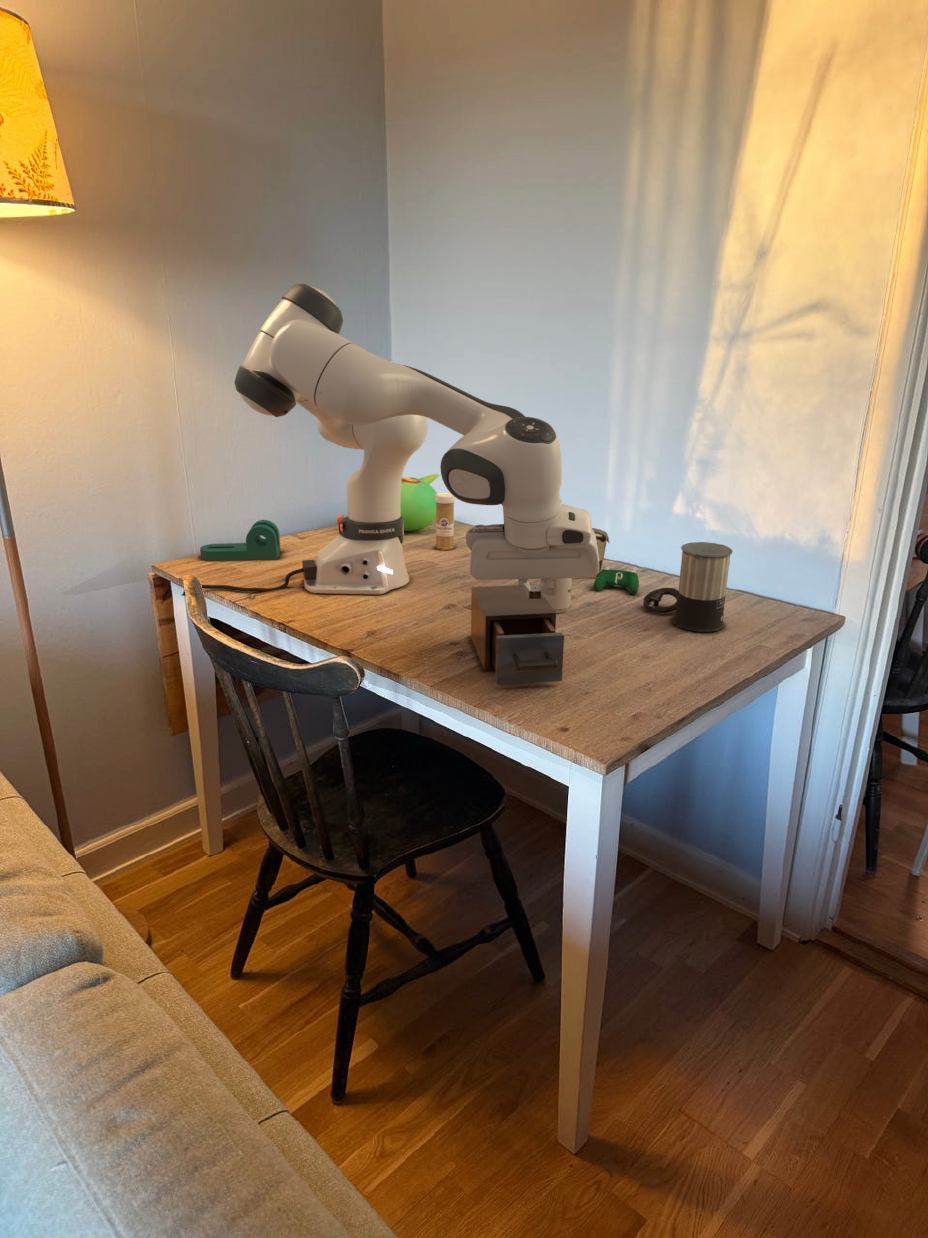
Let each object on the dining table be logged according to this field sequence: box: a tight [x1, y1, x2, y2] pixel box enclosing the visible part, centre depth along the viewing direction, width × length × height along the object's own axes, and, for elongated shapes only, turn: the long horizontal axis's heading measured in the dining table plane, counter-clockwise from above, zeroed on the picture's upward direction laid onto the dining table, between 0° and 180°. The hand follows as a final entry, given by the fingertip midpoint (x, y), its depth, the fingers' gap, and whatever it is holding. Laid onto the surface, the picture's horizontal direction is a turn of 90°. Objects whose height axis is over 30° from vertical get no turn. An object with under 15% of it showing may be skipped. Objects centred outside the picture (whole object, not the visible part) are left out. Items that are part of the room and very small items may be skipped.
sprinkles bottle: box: [435, 492, 455, 551], centre depth 201 cm, size 5×5×14 cm
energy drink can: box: [540, 578, 573, 614], centre depth 160 cm, size 6×6×15 cm
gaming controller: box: [593, 565, 640, 595], centre depth 174 cm, size 9×4×6 cm
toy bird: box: [401, 473, 440, 532], centre depth 217 cm, size 18×17×15 cm
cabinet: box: [470, 584, 557, 672], centre depth 141 cm, size 15×12×10 cm
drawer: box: [490, 618, 565, 686], centre depth 131 cm, size 18×10×8 cm, turn 8°
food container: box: [592, 527, 610, 579], centre depth 183 cm, size 12×6×10 cm, turn 84°
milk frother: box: [643, 541, 733, 633], centre depth 156 cm, size 14×16×15 cm
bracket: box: [199, 519, 281, 562], centre depth 194 cm, size 18×7×8 cm, turn 95°
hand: (535, 596), depth 133 cm, fingers closed
